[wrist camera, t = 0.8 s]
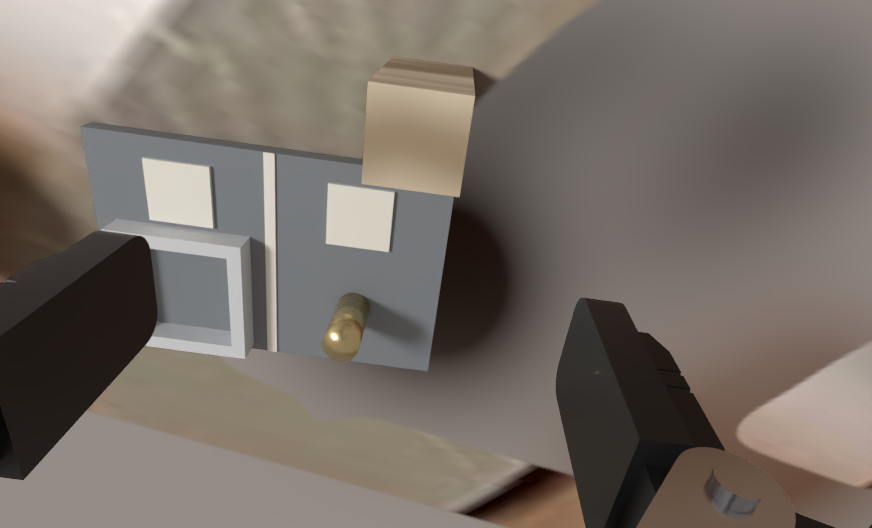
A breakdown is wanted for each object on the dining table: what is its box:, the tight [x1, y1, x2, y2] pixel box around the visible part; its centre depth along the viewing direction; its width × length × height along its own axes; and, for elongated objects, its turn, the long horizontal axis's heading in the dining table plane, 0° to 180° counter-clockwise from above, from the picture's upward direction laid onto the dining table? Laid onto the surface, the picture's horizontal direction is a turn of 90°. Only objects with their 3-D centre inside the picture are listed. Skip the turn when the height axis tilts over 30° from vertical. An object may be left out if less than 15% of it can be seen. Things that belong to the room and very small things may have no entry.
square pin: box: [361, 56, 475, 197], centre depth 24 cm, size 4×4×8 cm
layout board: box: [80, 122, 454, 371], centre depth 31 cm, size 13×20×2 cm, turn 83°
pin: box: [322, 293, 370, 361], centre depth 31 cm, size 2×2×4 cm
